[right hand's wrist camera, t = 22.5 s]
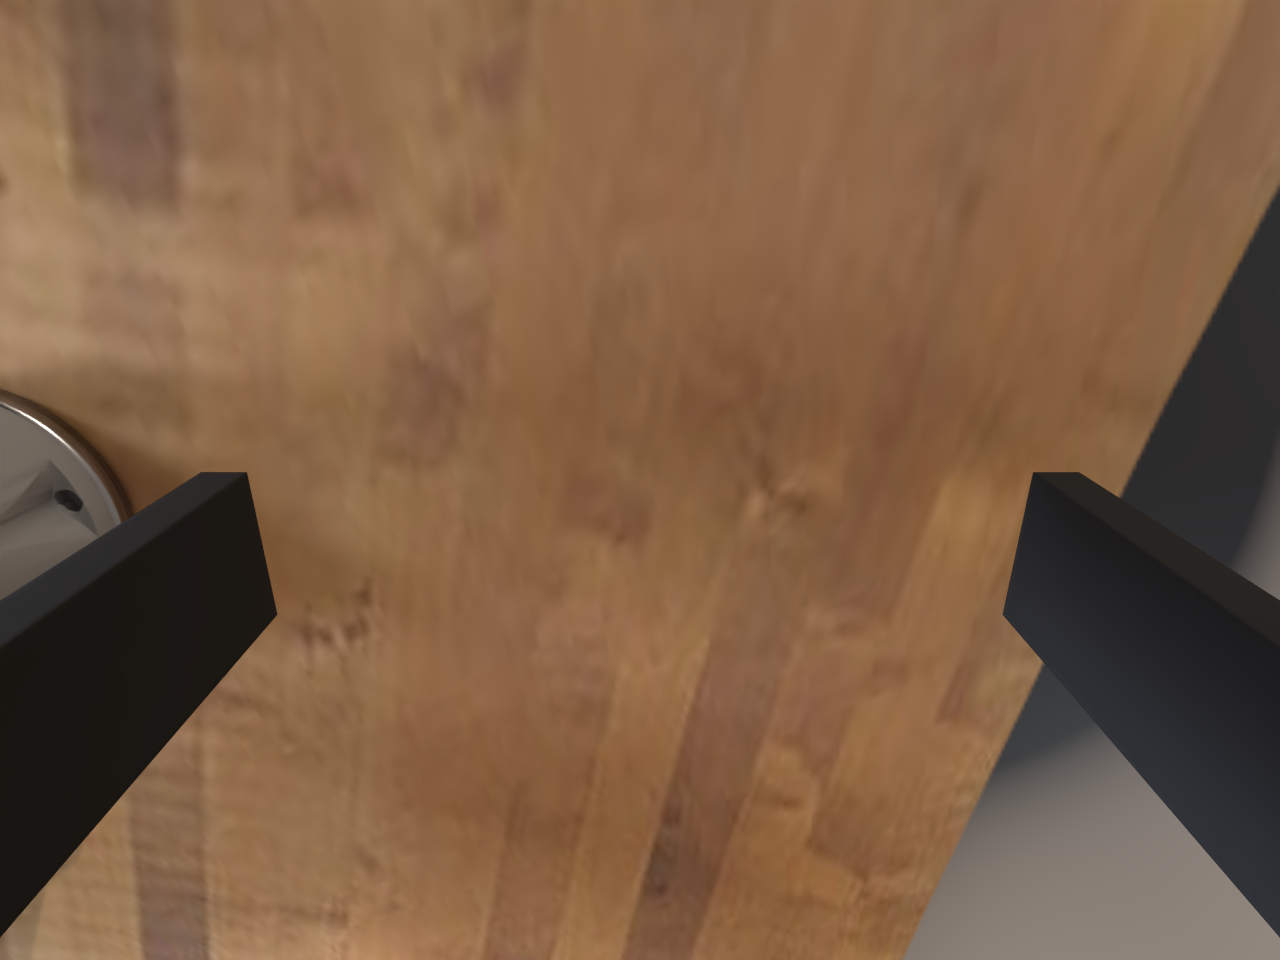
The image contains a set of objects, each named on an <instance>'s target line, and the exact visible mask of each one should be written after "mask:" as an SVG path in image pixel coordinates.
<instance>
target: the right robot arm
mask: <svg viewBox="0 0 1280 960" xmlns="http://www.w3.org/2000/svg"><path fill="white" fill-rule="evenodd" d="M276 615H277V611H276V606H275V602H274V597H273V592H272V588H271V583H270V578H269V574H268V569H267V564H266V560H265V555H264V550H263V546H262V541H261V536H260V531H259V527H258V522H257V517H256V513H255V508H254V503H253V499H252V494H251V489H250V485H249V480H248V475H247V472H201V473H199V474H198V475H196V476H194V477H193V478H191V479H190V480H188V481H187V482H185V483H184V484H182V485H180V486H179V487H177V488H176V489H174V490H173V491H171V492H169V493H168V494H166V495H165V496H163V497H162V498H160V499H158V500H157V501H155V502H154V503H152V504H151V505H149V506H147V507H146V508H144V509H143V510H141V511H140V512H138V513H137V514H135V515H134V514H133V511H132V508H131V505H130V502H129V500H128V498H127V496H126V493H125V491H124V489H123V487H122V486H121V484H120V482H119V480H118V479H117V477H116V476H115V474H114V473H113V471H112V470H111V468H110V467H109V465H108V464H107V463H106V461H105V460H104V459H103V458H102V456H101V455H100V454H99V453H98V452H97V451H96V450H95V449H94V448H93V446H92V445H91V444H90V443H89V442H88V441H87V440H85V439H84V438H83V437H82V436H81V435H80V434H79V433H78V432H77V431H75V430H74V429H73V428H72V427H70V426H69V425H68V424H67V423H65V422H64V421H62V420H61V419H60V418H58V417H57V416H55V415H54V414H52V413H51V412H49V411H47V410H46V409H44V408H42V407H40V406H39V405H37V404H35V403H33V402H31V401H29V400H27V399H25V398H22V397H20V396H17V395H15V394H12V393H10V392H7V391H4V390H1V389H0V937H1V936H2V935H3V934H4V932H5V931H6V930H7V929H8V928H9V927H10V925H11V924H12V923H13V922H14V921H15V920H16V918H17V917H18V916H19V915H20V914H21V913H22V911H23V910H24V909H25V908H26V907H27V906H28V904H29V903H30V902H31V901H32V900H33V899H34V897H35V896H36V895H37V894H38V893H39V892H40V890H41V889H42V888H43V887H44V886H45V885H46V883H47V882H48V881H49V880H50V879H51V878H52V876H53V875H54V874H55V873H56V872H57V871H58V869H59V868H60V867H61V866H62V865H63V864H64V862H65V861H66V860H67V859H68V858H69V857H70V856H71V854H72V853H73V852H74V851H75V850H76V849H77V847H78V846H79V845H80V844H81V843H82V842H83V840H84V839H85V838H86V837H87V836H88V835H89V833H90V832H91V831H92V830H93V829H94V828H95V826H96V825H97V824H98V823H99V822H100V821H101V819H102V818H103V817H104V816H105V815H106V814H107V812H108V811H109V810H110V809H111V808H112V807H113V805H114V804H115V803H116V802H117V801H118V800H119V798H120V797H121V796H122V795H123V794H124V793H125V791H126V790H127V789H128V788H129V787H130V786H131V784H132V783H133V782H134V781H135V780H136V779H137V777H138V776H139V775H140V774H141V773H142V772H143V770H144V769H145V768H146V767H147V766H148V765H149V763H150V762H151V761H152V760H153V759H154V758H155V756H156V755H157V754H158V753H159V752H160V751H161V749H162V748H163V747H164V746H165V745H166V744H167V742H168V741H169V740H170V739H171V738H172V737H173V736H174V734H175V733H176V732H177V731H178V730H179V729H180V727H181V726H182V725H183V724H184V723H185V722H186V720H187V719H188V718H189V717H190V716H191V715H192V713H193V712H194V711H195V710H196V709H197V708H198V706H199V705H200V704H201V703H202V702H203V701H204V699H205V698H206V697H207V696H208V695H209V694H210V692H211V691H212V690H213V689H214V688H215V687H216V685H217V684H218V683H219V682H220V681H221V680H222V678H223V677H224V676H225V675H226V674H227V673H228V671H229V670H230V669H231V668H232V667H233V666H234V664H235V663H236V662H237V661H238V660H239V659H240V657H241V656H242V655H243V654H244V653H245V652H246V650H247V649H248V648H249V647H250V646H251V645H252V643H253V642H254V641H255V640H256V639H257V638H258V636H259V635H260V634H261V633H262V632H263V631H264V629H265V628H266V627H267V626H268V625H269V624H270V622H271V621H272V620H273V619H274V618H275V617H276ZM1003 616H1004V617H1005V618H1006V619H1007V620H1008V621H1009V622H1010V624H1011V625H1012V626H1013V627H1014V628H1015V629H1016V631H1017V632H1018V633H1019V634H1020V635H1021V636H1022V638H1023V639H1024V640H1025V641H1026V642H1027V643H1028V645H1029V646H1030V647H1031V648H1032V649H1033V650H1034V652H1035V653H1036V654H1037V655H1038V656H1039V657H1040V659H1041V660H1042V661H1043V662H1044V663H1045V664H1046V666H1047V667H1048V668H1049V669H1050V670H1051V671H1052V673H1053V674H1054V675H1055V676H1056V677H1057V678H1058V680H1059V681H1060V682H1061V683H1062V684H1063V685H1064V687H1065V688H1066V689H1067V690H1068V691H1069V692H1070V694H1071V695H1072V696H1073V697H1074V698H1075V699H1076V701H1077V702H1078V703H1079V704H1080V705H1081V706H1082V708H1083V709H1084V710H1085V711H1086V712H1087V713H1088V714H1089V716H1090V717H1091V718H1092V719H1093V720H1094V722H1095V723H1096V724H1097V725H1098V726H1099V727H1100V728H1101V730H1102V731H1103V732H1104V733H1105V734H1106V736H1107V737H1108V738H1109V739H1110V740H1111V741H1112V742H1113V744H1114V745H1115V746H1116V747H1117V748H1118V749H1119V751H1120V752H1121V753H1122V754H1123V755H1124V756H1125V758H1126V759H1127V760H1128V761H1129V762H1130V763H1131V765H1132V766H1133V767H1134V768H1135V769H1136V770H1137V772H1138V773H1139V774H1140V775H1141V776H1142V777H1143V779H1144V780H1145V781H1146V782H1147V783H1148V784H1149V786H1150V787H1151V788H1152V789H1153V790H1154V791H1155V793H1156V794H1157V795H1158V796H1159V797H1160V798H1161V800H1162V801H1163V802H1164V803H1165V804H1166V805H1167V807H1168V808H1169V809H1170V810H1171V811H1172V812H1173V814H1174V815H1175V816H1176V817H1177V818H1178V819H1179V821H1180V822H1181V823H1182V824H1183V825H1184V826H1185V827H1186V829H1187V830H1188V831H1189V832H1190V833H1191V835H1192V836H1193V837H1194V838H1195V839H1196V840H1197V842H1198V843H1199V844H1200V845H1201V846H1202V847H1203V849H1204V850H1205V851H1206V852H1207V853H1208V854H1209V856H1210V857H1211V858H1212V859H1213V860H1214V861H1215V862H1216V864H1217V865H1218V866H1219V867H1220V868H1221V869H1222V871H1223V872H1224V873H1225V874H1226V875H1227V876H1228V878H1229V879H1230V880H1231V881H1232V882H1233V883H1234V885H1235V886H1236V887H1237V888H1238V889H1239V890H1240V892H1241V893H1242V894H1243V895H1244V896H1245V897H1246V899H1247V900H1248V901H1249V902H1250V903H1251V904H1252V906H1253V907H1254V908H1255V909H1256V910H1257V911H1258V913H1259V914H1260V915H1261V916H1262V917H1263V918H1264V920H1265V921H1266V922H1267V923H1268V924H1269V925H1270V926H1271V928H1272V929H1273V930H1274V931H1275V932H1276V934H1277V935H1278V936H1279V937H1280V600H1278V599H1276V598H1275V597H1273V596H1272V595H1270V594H1269V593H1267V592H1266V591H1264V590H1262V589H1261V588H1259V587H1258V586H1256V585H1255V584H1253V583H1252V582H1250V581H1248V580H1247V579H1245V578H1244V577H1242V576H1241V575H1239V574H1237V573H1236V572H1234V571H1233V570H1231V569H1230V568H1228V567H1226V566H1225V565H1223V564H1222V563H1220V562H1219V561H1217V560H1216V559H1214V558H1212V557H1211V556H1209V555H1208V554H1206V553H1205V552H1203V551H1201V550H1200V549H1198V548H1197V547H1195V546H1194V545H1192V544H1190V543H1189V542H1187V541H1186V540H1184V539H1183V538H1181V537H1179V536H1178V535H1176V534H1175V533H1173V532H1172V531H1170V530H1169V529H1167V528H1165V527H1164V526H1162V525H1161V524H1159V523H1158V522H1156V521H1154V520H1153V519H1151V518H1150V517H1148V516H1147V515H1145V514H1143V513H1142V512H1140V511H1139V510H1137V509H1136V508H1134V507H1132V506H1131V505H1129V504H1128V503H1126V502H1125V501H1123V500H1122V499H1120V498H1118V497H1117V496H1115V495H1114V494H1112V493H1111V492H1109V491H1107V490H1106V489H1104V488H1103V487H1101V486H1100V485H1098V484H1096V483H1095V482H1093V481H1092V480H1090V479H1089V478H1087V477H1086V476H1084V475H1082V474H1081V473H1079V472H1033V475H1032V480H1031V485H1030V489H1029V494H1028V499H1027V503H1026V508H1025V513H1024V517H1023V522H1022V527H1021V531H1020V536H1019V541H1018V546H1017V550H1016V555H1015V560H1014V564H1013V569H1012V574H1011V578H1010V583H1009V588H1008V592H1007V597H1006V602H1005V606H1004V611H1003Z"/></svg>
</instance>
